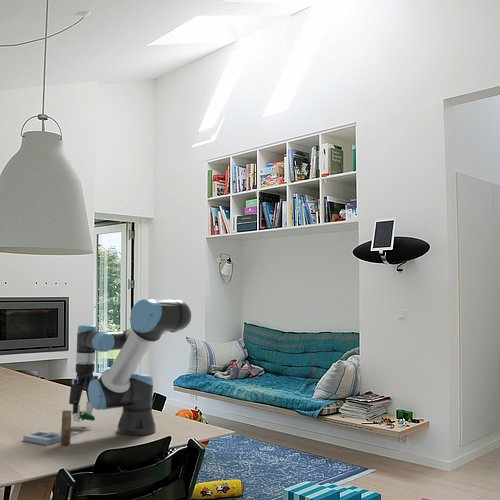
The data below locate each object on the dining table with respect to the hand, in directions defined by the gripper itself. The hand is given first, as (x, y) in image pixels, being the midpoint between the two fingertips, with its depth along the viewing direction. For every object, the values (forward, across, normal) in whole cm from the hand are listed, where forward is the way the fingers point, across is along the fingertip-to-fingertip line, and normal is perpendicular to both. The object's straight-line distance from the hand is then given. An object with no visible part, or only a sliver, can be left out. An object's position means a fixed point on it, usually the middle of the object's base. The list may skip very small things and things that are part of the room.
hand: (82, 419), depth 252 cm
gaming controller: (0, 0, 0) cm, 0 cm away
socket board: (+3, +23, +3) cm, 24 cm away
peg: (+3, +24, +14) cm, 28 cm away
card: (+3, +11, +4) cm, 12 cm away
